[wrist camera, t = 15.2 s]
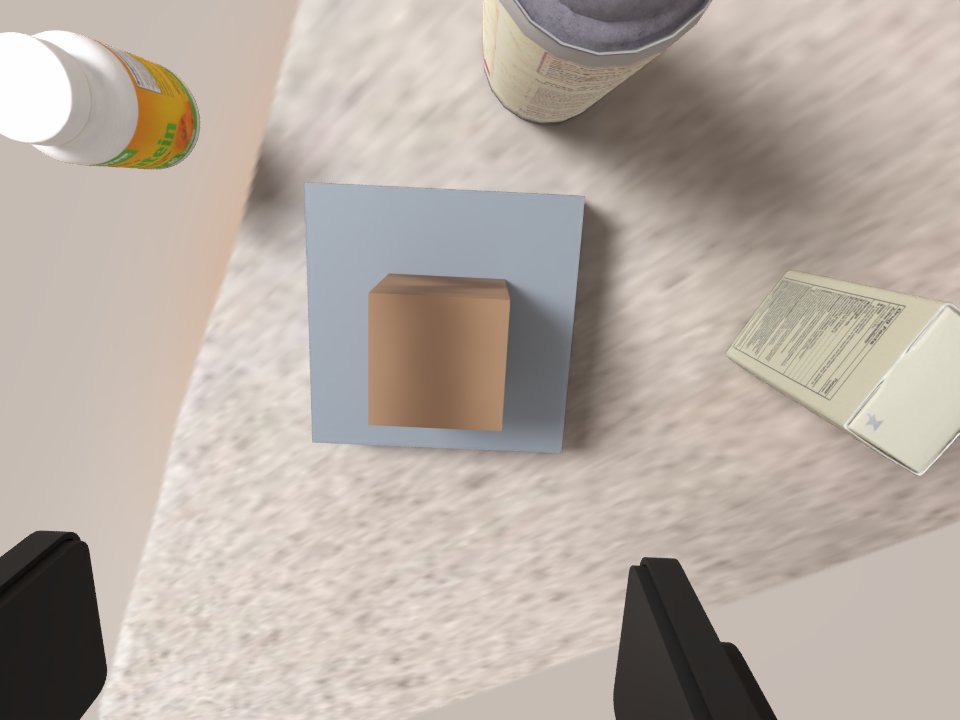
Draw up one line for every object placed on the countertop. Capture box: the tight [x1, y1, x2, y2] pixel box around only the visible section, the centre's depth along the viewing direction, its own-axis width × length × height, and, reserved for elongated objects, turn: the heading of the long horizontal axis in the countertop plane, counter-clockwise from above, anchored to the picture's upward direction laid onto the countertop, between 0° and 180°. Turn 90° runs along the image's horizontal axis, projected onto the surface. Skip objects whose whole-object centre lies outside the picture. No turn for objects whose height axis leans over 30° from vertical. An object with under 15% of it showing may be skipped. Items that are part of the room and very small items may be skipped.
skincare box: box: [726, 270, 960, 476], centre depth 30 cm, size 6×4×12 cm
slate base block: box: [304, 183, 585, 453], centre depth 34 cm, size 14×14×4 cm
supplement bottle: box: [0, 31, 200, 169], centre depth 28 cm, size 5×5×10 cm
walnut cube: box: [368, 273, 510, 431], centre depth 29 cm, size 6×6×6 cm
